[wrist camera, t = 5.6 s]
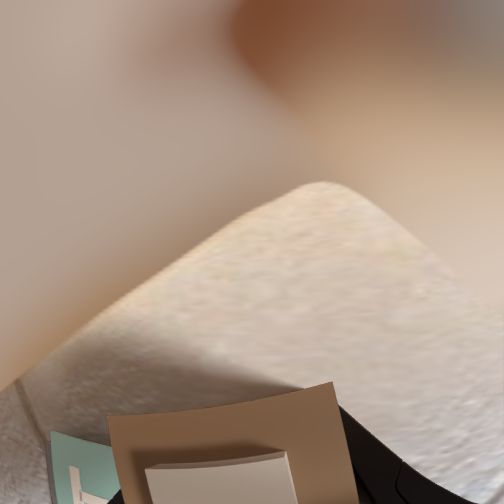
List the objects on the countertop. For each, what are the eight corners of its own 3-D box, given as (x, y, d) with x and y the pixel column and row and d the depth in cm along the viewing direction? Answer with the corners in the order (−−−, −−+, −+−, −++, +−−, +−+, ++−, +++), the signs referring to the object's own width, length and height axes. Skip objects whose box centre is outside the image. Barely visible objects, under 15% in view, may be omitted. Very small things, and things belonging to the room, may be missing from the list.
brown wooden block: (327, 465, 12) (376, 584, 2) (243, 481, 13) (143, 596, 2) (309, 389, 14) (336, 379, 4) (226, 407, 15) (89, 414, 4)
